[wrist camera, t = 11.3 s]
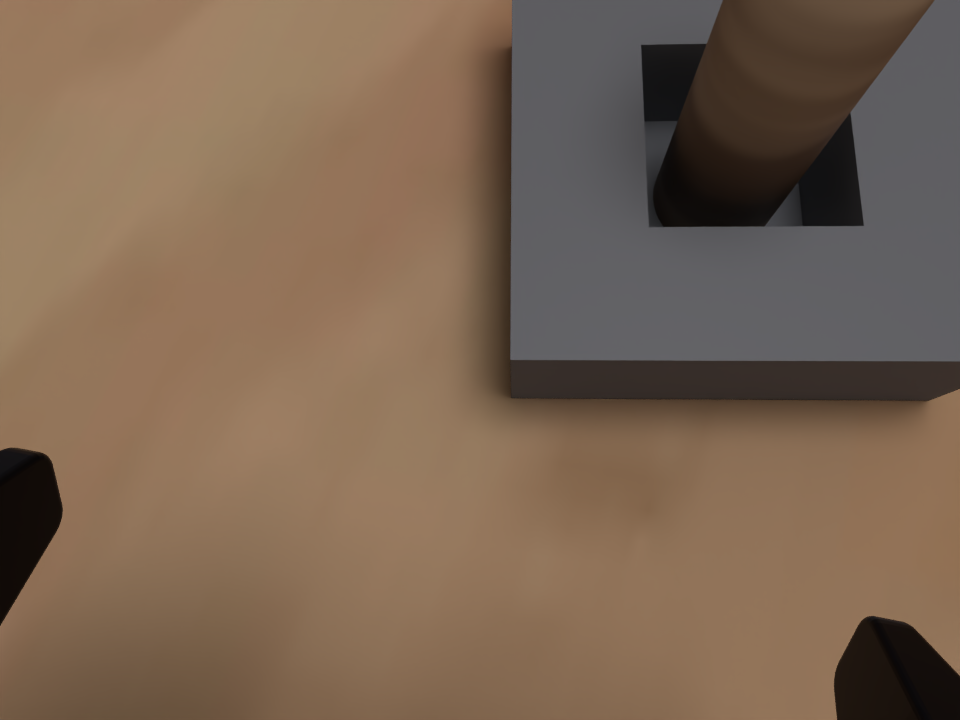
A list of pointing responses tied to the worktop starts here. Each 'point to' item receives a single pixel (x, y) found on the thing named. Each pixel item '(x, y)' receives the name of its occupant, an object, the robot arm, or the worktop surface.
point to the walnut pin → (771, 102)
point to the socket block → (725, 250)
